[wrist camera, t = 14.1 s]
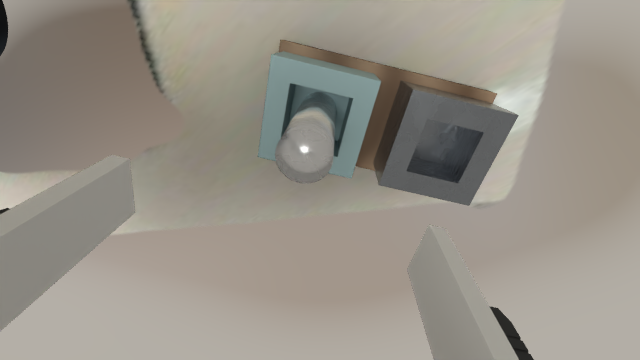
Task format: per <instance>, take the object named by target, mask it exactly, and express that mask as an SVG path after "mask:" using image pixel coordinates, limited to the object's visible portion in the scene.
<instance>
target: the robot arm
mask: <svg viewBox="0 0 640 360" xmlns="http://www.w3.org/2000/svg"><path fill="white" fill-rule="evenodd" d="M7 38H8V22H7V16H6V11H5V8H4V4H3V1H2V0H0V56H1V54H2V52H3V51H4V49H5V46H6V43H7ZM134 213H135V206H134V195H133V185H132V174H131V164H130V159H128V158H124V157H119V156H114V155H110V156H109V157H107V158H105V159H103V160H101V161H99V162H97V163H95V164H94V165H92V166H90V167H88V168H86V169H84V170H82V171H80V172H79V173H77V174H75V175H73V176H71V177H69V178H67V179H65V180H64V181H62V182H60V183H58V184H56V185H54V186H52V187H51V188H49V189H47V190H45V191H43V192H41V193H39V194H37V195H36V196H34V197H32V198H30V199H28V200H26V201H24V202H23V203H21V204H19V205H17V206H15V207H13V208H11V209H9V208H6V209H3V210H0V331H1V330H2V329H3V328H4V327H6V326H7V325H8V324H9V323H10V322H11V321H13V320H14V319H15V318H16V317H17V316H18V315H19V314H21V313H22V312H23V311H24V310H25V309H26V308H27V307H28V306H29V305H31V304H32V303H33V302H34V301H35V300H36V299H37V298H39V297H40V296H41V295H42V294H43V293H44V292H45V291H47V290H48V289H49V288H50V287H51V286H52V285H53V284H55V282H57V281H58V280H59V279H60V278H61V277H62V276H64V275H65V274H66V273H67V272H68V271H69V270H70V269H72V268H73V267H74V266H75V265H76V264H77V263H78V262H79V261H81V260H82V259H83V258H84V257H85V256H86V255H87V254H88V253H90V252H91V251H92V250H93V249H94V248H95V247H96V246H98V244H100V243H101V242H102V241H103V240H104V239H106V238H107V237H108V236H109V235H110V234H111V233H112V232H113V231H115V230H116V229H117V228H118V227H119V226H120V225H121V224H123V223H124V222H125V221H126V220H127V219H128V218H129V217H130V216H132V215H133V214H134ZM407 271H408V274H409V278H410V281H411V285H412V288H413V291H414V294H415V298H416V301H417V305H418V308H419V311H420V315H421V318H422V322H423V325H424V328H425V332H426V335H427V338H428V342H429V345H430V349H431V352H432V355H433V359H434V360H534V359H533V358H532V356H531V354H529V353H528V349H527V348H526V346H525V344H524V343H523V341H521V340H520V336H519V334H518V333H517V331H516V329H515V328H514V326H513V324H512V323H511V322H510V321H509V319H508V318H507V317H506V316H505V315H504V314H503V313H502V312H501V311H500V310H499V309H498V308H494V307H490V306H489V305H488V303H487V301H486V300H485V298H484V296H483V295H482V292H481V291H480V289H479V287H478V285H477V283H476V282H475V280H474V278H473V276H472V275H471V273H470V271H469V269H468V268H467V266H466V264H465V262H464V260H463V258H462V257H461V255H460V253H459V251H458V249H457V248H456V246H455V244H454V243H453V240H452V239H451V237H450V235H449V233H448V232H447V230H446V228H443V227H438V226H433V225H429V226H428V228H427V230H426V232H425V234H424V236H423V238H422V240H421V242H420V244H419V246H418V248H417V250H416V252H415V254H414V256H413V259H412V260H411V263H410V264H409V266H408V268H407Z"/></svg>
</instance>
